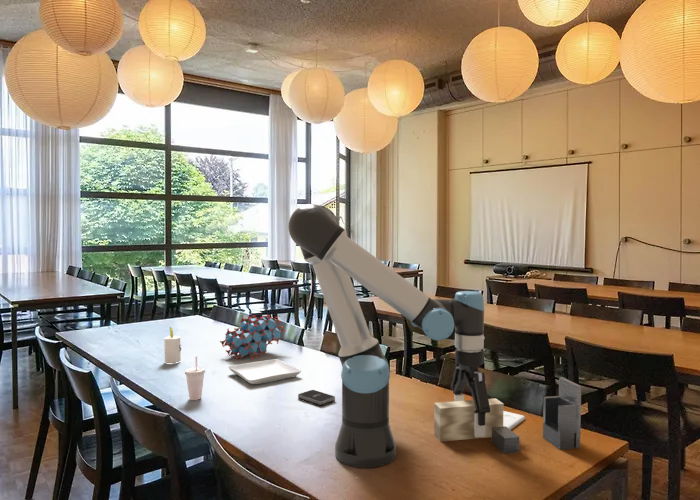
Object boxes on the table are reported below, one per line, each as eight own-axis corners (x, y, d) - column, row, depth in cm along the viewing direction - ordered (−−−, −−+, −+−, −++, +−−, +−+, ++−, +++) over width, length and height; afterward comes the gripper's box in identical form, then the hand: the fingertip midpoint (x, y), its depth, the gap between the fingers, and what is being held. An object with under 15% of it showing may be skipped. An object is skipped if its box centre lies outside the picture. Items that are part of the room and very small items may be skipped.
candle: (178, 364, 212) (177, 328, 211) (162, 364, 212) (161, 328, 212) (183, 360, 218) (182, 325, 218) (168, 360, 219) (167, 325, 218)
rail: (440, 441, 136) (440, 408, 136) (434, 435, 140) (434, 402, 140) (503, 436, 140) (503, 403, 139) (495, 430, 144) (495, 398, 143)
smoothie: (209, 398, 170) (208, 356, 169) (191, 403, 165) (191, 360, 165) (199, 394, 174) (198, 353, 174) (181, 399, 170) (180, 356, 169)
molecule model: (231, 343, 212) (274, 305, 226) (214, 338, 222) (256, 302, 236) (249, 372, 218) (290, 334, 232) (232, 366, 229) (272, 329, 243)
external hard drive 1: (312, 395, 175) (312, 389, 175) (336, 402, 167) (336, 396, 167) (297, 400, 170) (297, 394, 170) (320, 408, 162) (320, 402, 162)
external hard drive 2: (480, 426, 148) (498, 414, 157) (507, 433, 142) (524, 420, 152) (480, 421, 147) (498, 409, 157) (507, 428, 142) (524, 415, 152)
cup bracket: (559, 449, 131) (561, 387, 130) (542, 437, 139) (543, 378, 138) (580, 447, 132) (581, 386, 131) (562, 435, 140) (563, 377, 139)
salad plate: (302, 378, 193) (302, 369, 193) (249, 389, 181) (249, 379, 181) (277, 366, 211) (276, 357, 210) (227, 374, 198) (227, 366, 198)
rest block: (504, 453, 129) (504, 438, 128) (491, 442, 135) (491, 427, 135) (519, 452, 129) (519, 436, 129) (505, 441, 136) (505, 426, 136)
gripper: (504, 360, 127) (503, 444, 128) (463, 338, 152) (463, 409, 153) (476, 361, 126) (475, 446, 127) (439, 339, 150) (439, 411, 151)
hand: (469, 426), depth 140 cm, fingers open, 13 cm apart
